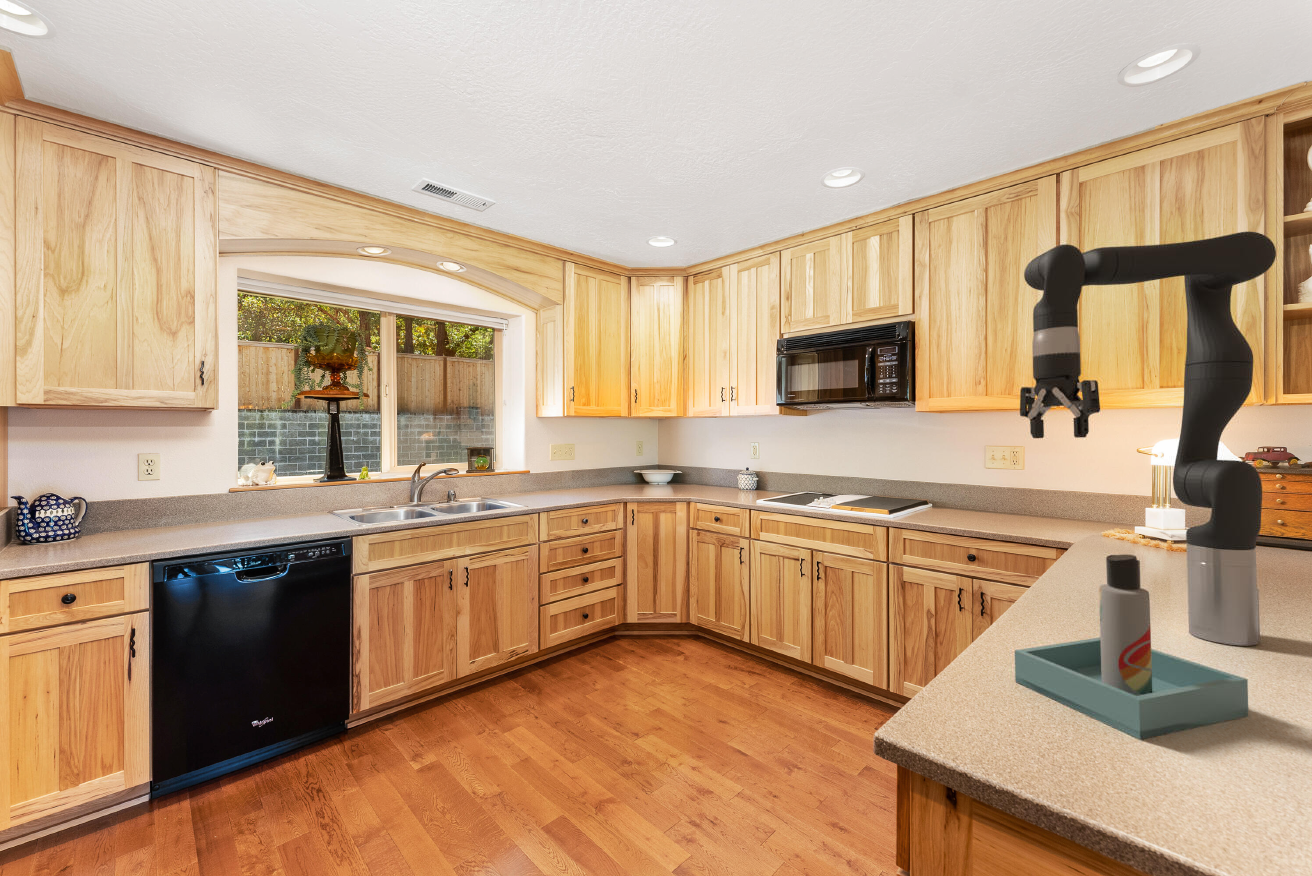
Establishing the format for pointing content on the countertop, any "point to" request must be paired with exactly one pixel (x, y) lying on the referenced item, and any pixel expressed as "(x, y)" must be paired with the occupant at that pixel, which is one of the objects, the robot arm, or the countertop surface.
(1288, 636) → the countertop surface
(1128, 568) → the lotion bottle
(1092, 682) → the tray
